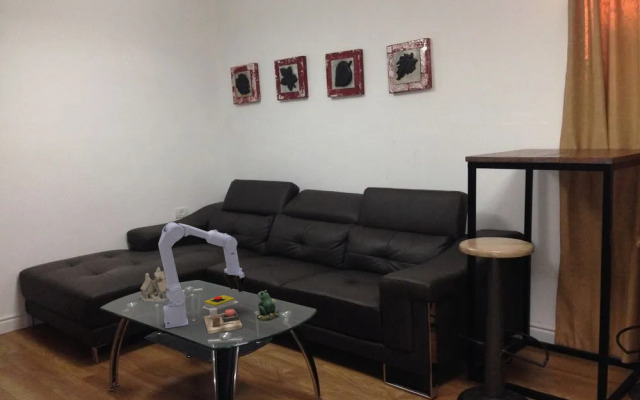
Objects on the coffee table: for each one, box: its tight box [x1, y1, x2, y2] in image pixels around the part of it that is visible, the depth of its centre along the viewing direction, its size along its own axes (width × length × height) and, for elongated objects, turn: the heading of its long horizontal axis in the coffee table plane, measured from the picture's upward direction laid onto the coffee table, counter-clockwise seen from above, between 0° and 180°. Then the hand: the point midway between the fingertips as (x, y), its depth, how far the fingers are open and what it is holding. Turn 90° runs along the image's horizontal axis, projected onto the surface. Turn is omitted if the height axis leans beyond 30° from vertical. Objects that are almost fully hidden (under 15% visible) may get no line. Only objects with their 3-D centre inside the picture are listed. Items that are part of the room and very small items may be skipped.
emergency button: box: [202, 294, 239, 311], centre depth 259 cm, size 9×4×15 cm
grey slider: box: [208, 308, 218, 318], centre depth 238 cm, size 3×3×4 cm
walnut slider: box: [212, 315, 221, 327], centre depth 228 cm, size 3×3×4 cm
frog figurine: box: [250, 290, 280, 324], centre depth 240 cm, size 18×18×12 cm
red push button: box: [224, 308, 235, 317], centre depth 235 cm, size 4×4×2 cm
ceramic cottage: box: [139, 267, 169, 303], centre depth 274 cm, size 16×16×15 cm
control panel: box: [203, 310, 243, 335], centre depth 234 cm, size 14×18×3 cm
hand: (237, 289), depth 249 cm, fingers open, 7 cm apart
